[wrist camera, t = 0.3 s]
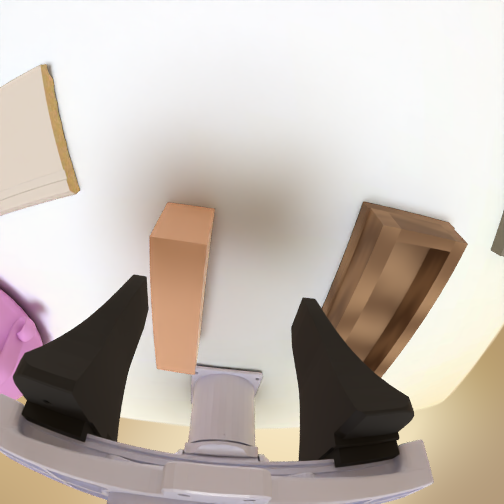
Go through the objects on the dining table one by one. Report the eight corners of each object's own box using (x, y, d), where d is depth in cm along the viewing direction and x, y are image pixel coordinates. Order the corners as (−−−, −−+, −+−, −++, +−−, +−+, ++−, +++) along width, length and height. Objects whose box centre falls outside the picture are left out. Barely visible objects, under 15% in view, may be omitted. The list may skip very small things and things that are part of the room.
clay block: (200, 334, 30) (194, 374, 25) (166, 328, 29) (156, 368, 25) (215, 207, 22) (207, 244, 18) (168, 201, 22) (149, 236, 17)
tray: (369, 361, 33) (376, 384, 30) (298, 359, 32) (302, 386, 29) (449, 222, 22) (469, 244, 19) (363, 201, 21) (380, 224, 18)
